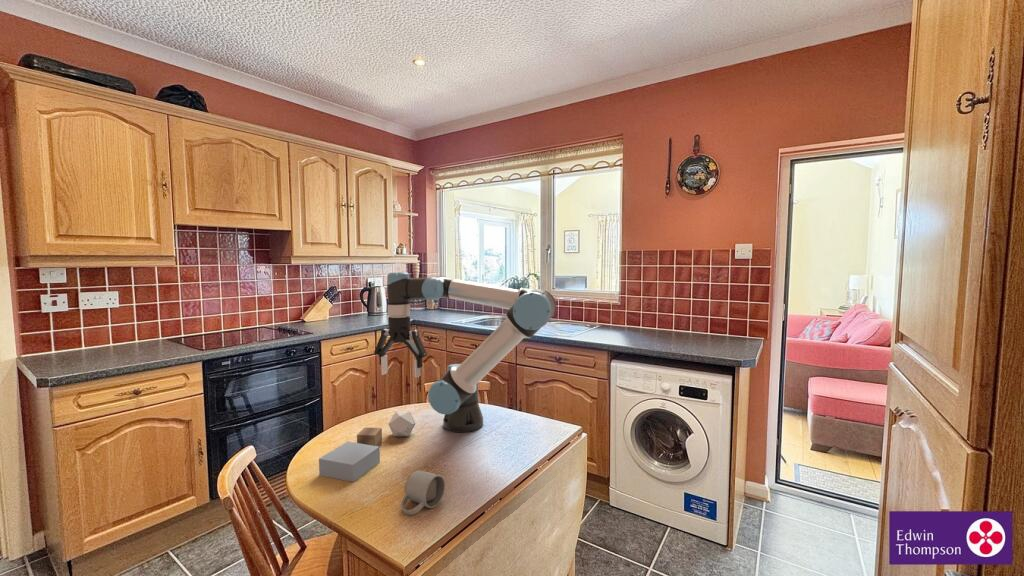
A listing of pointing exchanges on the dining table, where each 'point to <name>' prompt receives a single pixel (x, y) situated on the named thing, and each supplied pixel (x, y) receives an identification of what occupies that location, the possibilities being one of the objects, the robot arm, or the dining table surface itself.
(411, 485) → the ceramic mug
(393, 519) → the dining table surface
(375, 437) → the walnut cube
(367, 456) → the plinth
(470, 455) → the dining table surface
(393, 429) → the die
